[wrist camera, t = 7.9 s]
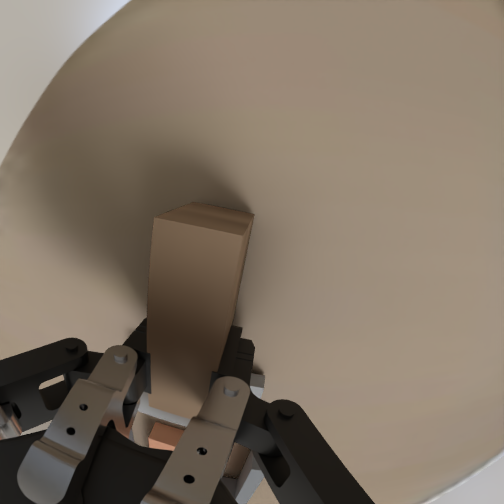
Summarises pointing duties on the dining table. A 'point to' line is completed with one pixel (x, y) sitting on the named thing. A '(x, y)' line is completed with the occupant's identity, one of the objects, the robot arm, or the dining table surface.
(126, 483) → the robot arm
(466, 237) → the dining table surface
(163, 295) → the brown and grey scraper
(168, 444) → the tile
